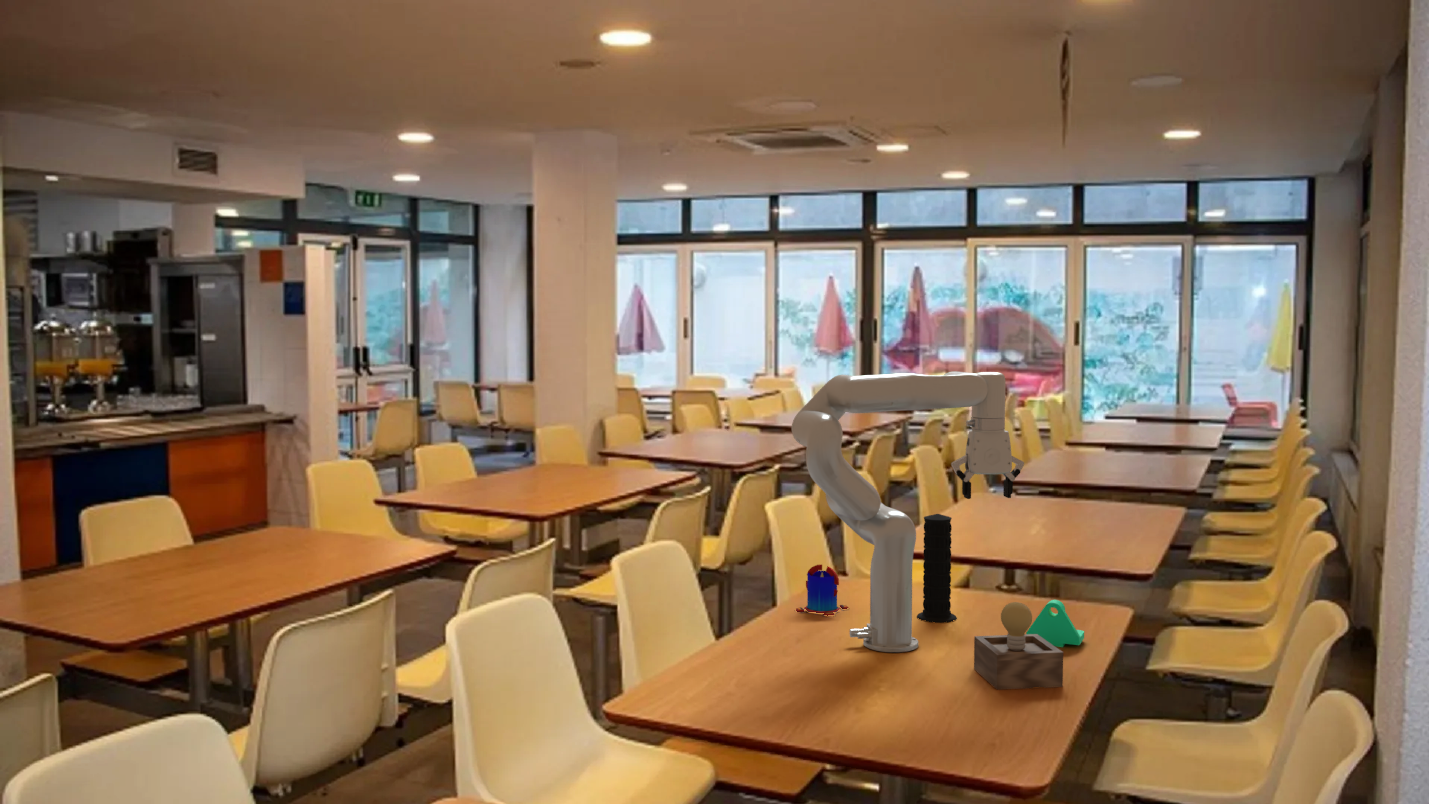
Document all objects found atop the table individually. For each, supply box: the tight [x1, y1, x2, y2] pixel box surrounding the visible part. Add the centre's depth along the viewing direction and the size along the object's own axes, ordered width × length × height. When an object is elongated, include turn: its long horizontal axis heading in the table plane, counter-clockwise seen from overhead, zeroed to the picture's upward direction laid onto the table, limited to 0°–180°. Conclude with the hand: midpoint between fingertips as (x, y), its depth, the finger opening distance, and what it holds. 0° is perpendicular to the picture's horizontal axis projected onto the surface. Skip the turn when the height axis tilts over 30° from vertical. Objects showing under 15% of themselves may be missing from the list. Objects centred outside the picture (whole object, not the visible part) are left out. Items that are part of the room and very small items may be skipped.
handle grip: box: [916, 513, 958, 624], centre depth 299 cm, size 10×26×10 cm
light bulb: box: [1000, 601, 1033, 651], centre depth 250 cm, size 6×6×10 cm
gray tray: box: [973, 633, 1064, 690], centre depth 251 cm, size 14×14×7 cm
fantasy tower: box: [795, 564, 849, 616], centre depth 308 cm, size 12×12×12 cm
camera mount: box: [1025, 599, 1085, 648], centre depth 278 cm, size 12×8×10 cm, turn 64°
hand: (987, 497), depth 280 cm, fingers open, 9 cm apart
